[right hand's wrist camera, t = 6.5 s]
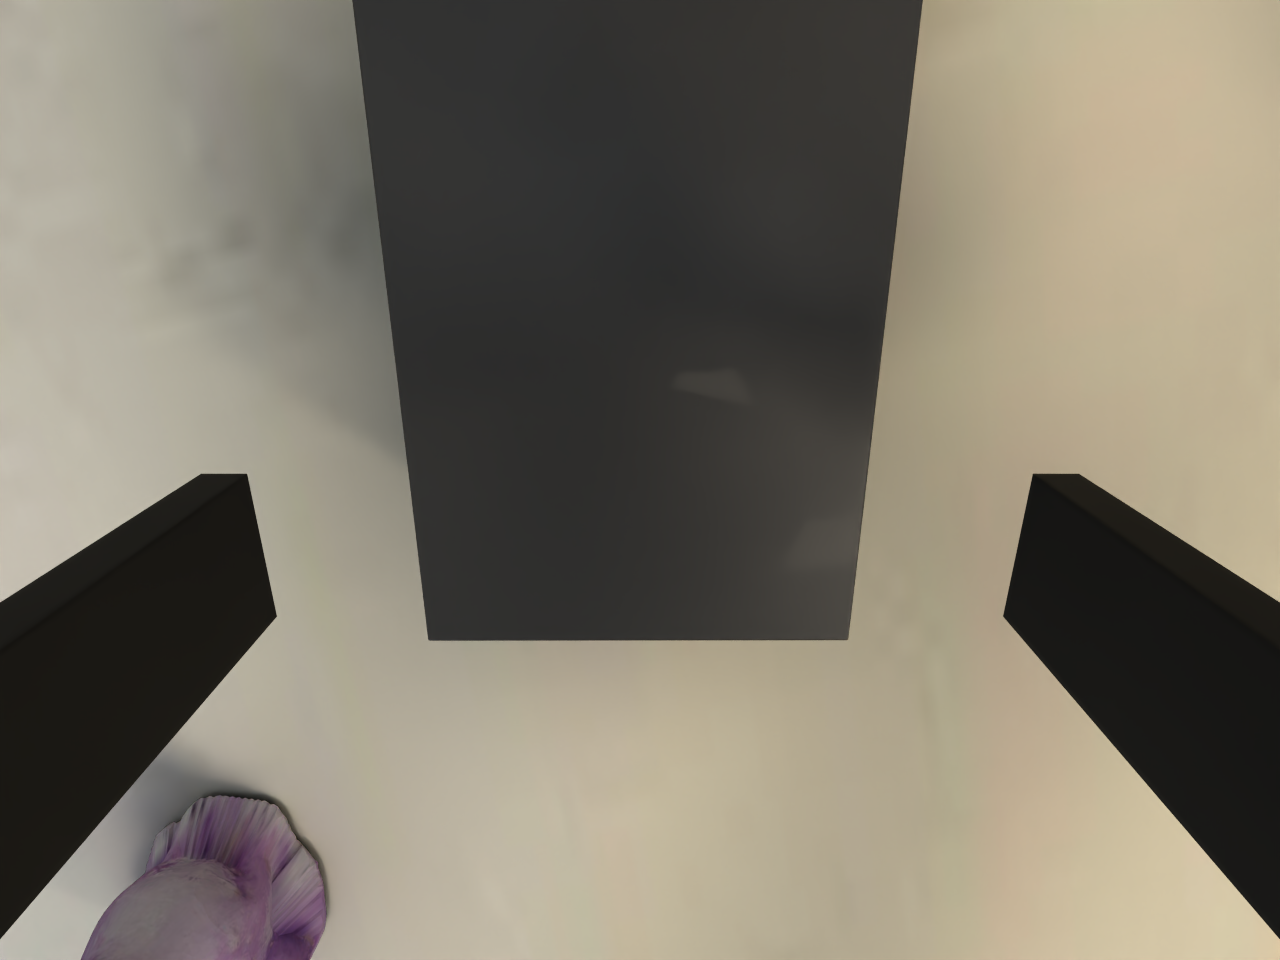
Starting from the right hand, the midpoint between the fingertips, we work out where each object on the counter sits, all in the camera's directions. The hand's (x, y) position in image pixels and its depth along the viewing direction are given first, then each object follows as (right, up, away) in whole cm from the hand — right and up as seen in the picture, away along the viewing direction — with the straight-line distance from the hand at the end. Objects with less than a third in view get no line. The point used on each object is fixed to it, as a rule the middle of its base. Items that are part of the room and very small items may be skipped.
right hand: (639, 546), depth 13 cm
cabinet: (0, +7, +11) cm, 13 cm away
